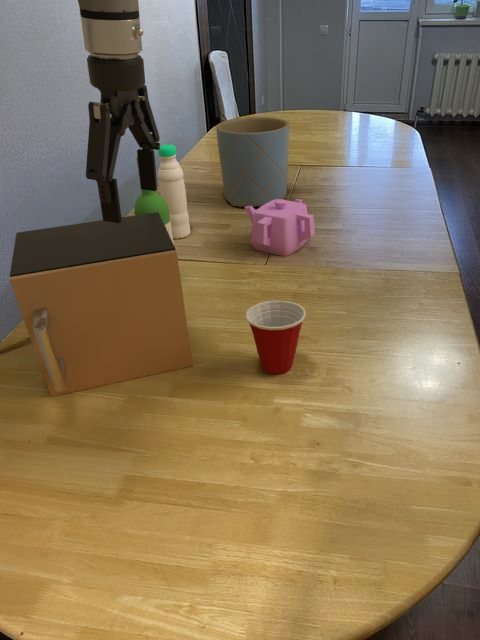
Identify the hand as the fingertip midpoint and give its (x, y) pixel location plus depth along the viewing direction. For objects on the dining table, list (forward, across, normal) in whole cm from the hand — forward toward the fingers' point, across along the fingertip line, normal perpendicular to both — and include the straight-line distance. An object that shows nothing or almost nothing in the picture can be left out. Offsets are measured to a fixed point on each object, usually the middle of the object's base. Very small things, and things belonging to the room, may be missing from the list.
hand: (132, 204), depth 83 cm
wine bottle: (+33, +30, +10) cm, 46 cm away
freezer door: (+31, -11, 0) cm, 33 cm away
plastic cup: (+29, +2, -25) cm, 39 cm away
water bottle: (+34, +58, +16) cm, 69 cm away
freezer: (+32, 0, +7) cm, 33 cm away
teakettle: (+32, +57, -14) cm, 67 cm away
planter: (+34, +91, +1) cm, 97 cm away
